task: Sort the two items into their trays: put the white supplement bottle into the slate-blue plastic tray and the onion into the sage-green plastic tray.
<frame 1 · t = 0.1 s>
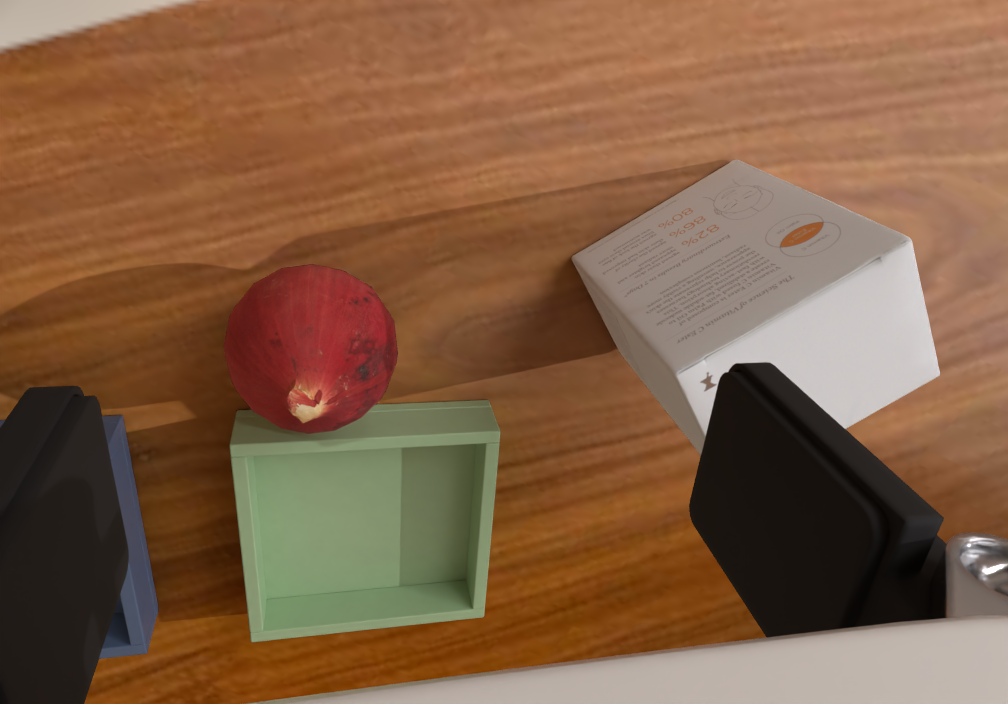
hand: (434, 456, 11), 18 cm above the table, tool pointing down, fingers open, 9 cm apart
green tray: (368, 503, 34), on the table
slate tray: (3, 528, 31), on the table
small box: (672, 256, 32), on the table
onion: (315, 303, 29), on the table
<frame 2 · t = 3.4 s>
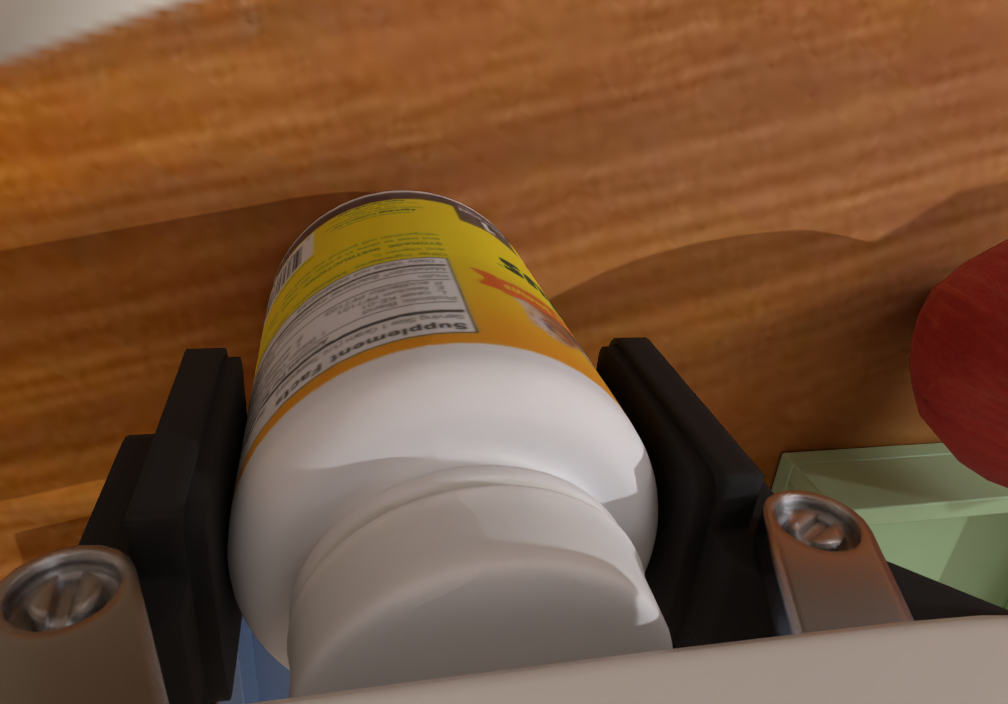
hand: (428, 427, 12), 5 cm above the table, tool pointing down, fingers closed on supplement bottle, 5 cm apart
green tray: (886, 576, 24), on the table
slate tray: (432, 626, 21), on the table
onion: (934, 294, 19), on the table
supplement bottle: (401, 301, 16), on the table, touching gripper
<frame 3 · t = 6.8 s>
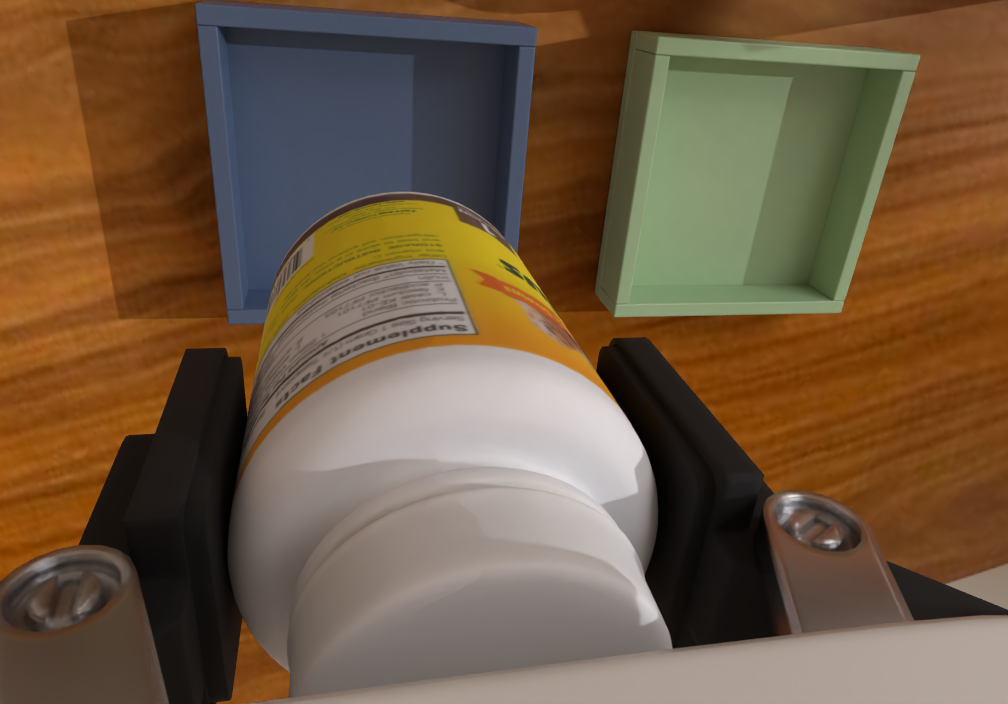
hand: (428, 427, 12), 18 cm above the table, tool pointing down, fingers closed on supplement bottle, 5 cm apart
green tray: (729, 175, 31), on the table
slate tray: (371, 165, 28), on the table
supplement bottle: (401, 302, 16), point 13 cm above the table, touching gripper
when the fingers open (6 cm above the table, at t = 10.1 s): supplement bottle stays where it is, resting on slate tray.
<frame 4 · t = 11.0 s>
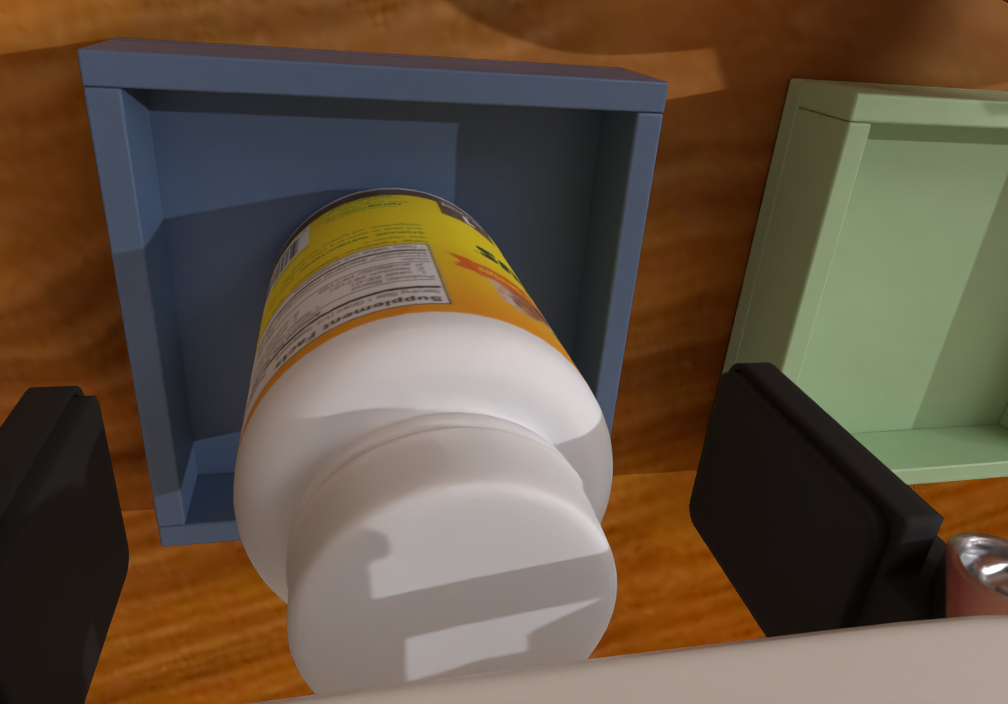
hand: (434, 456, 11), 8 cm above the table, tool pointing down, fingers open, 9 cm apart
green tray: (907, 282, 21), on the table
slate tray: (387, 287, 18), on the table
supplement bottle: (390, 291, 18), resting on slate tray
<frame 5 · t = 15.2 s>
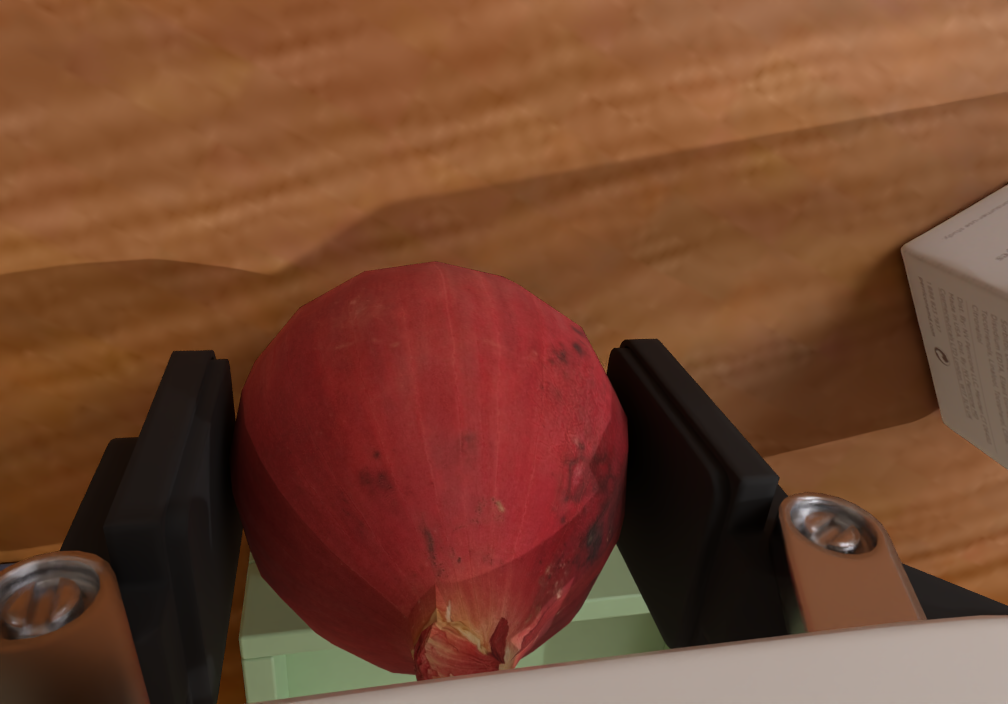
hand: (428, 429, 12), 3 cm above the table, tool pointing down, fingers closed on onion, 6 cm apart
green tray: (479, 681, 19), on the table
onion: (410, 341, 15), on the table, touching gripper
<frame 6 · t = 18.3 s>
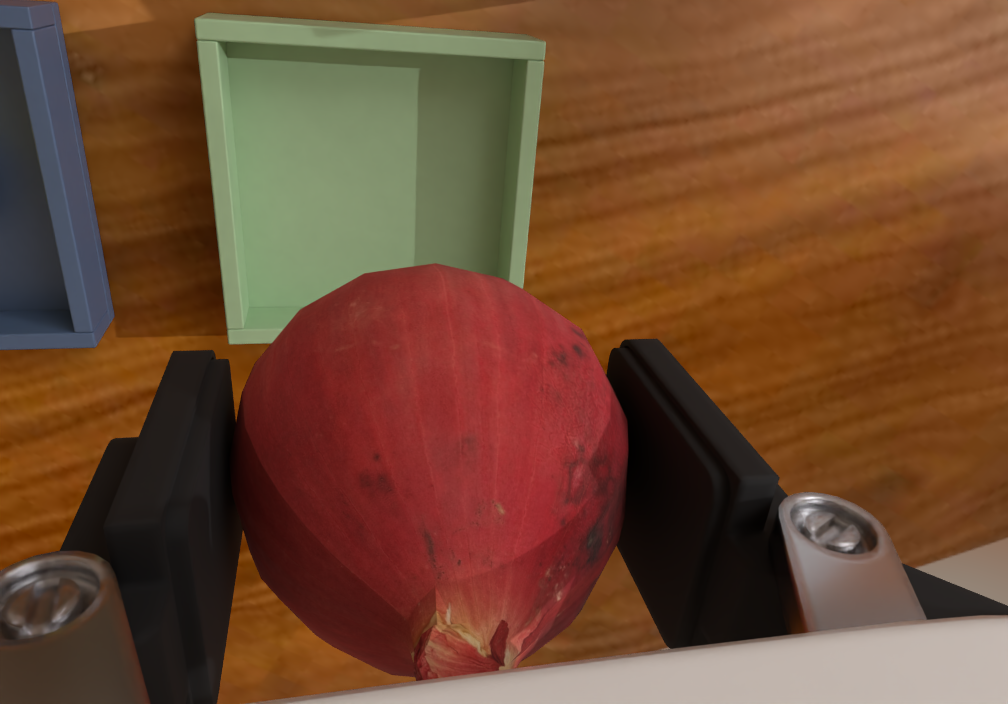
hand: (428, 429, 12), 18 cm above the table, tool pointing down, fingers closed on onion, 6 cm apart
green tray: (375, 181, 27), on the table
onion: (410, 342, 15), point 14 cm above the table, touching gripper
when the fingers open (4 cm above the table, at t = 21.9 s): onion stays where it is, resting on green tray.
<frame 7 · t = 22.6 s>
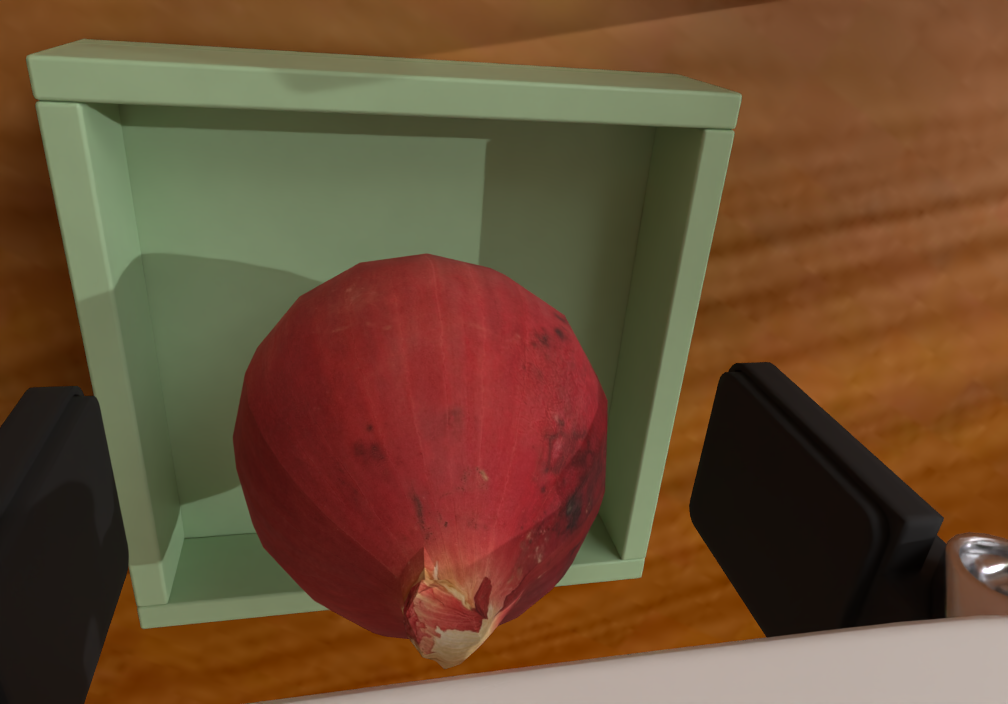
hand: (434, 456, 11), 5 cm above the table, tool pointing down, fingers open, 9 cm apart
green tray: (402, 326, 16), on the table
onion: (405, 332, 15), resting on green tray
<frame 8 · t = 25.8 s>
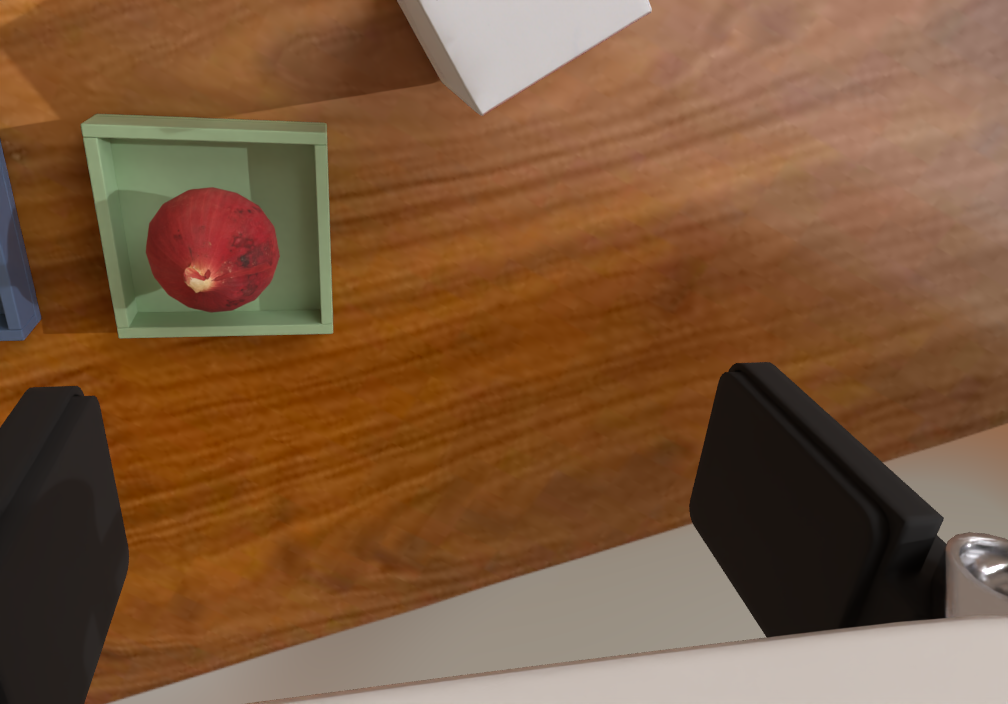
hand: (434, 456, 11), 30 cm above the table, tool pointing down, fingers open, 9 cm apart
green tray: (225, 223, 39), on the table
onion: (224, 224, 38), resting on green tray
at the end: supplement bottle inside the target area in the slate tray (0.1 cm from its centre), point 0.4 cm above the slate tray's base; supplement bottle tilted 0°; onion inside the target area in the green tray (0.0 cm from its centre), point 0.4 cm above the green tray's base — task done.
